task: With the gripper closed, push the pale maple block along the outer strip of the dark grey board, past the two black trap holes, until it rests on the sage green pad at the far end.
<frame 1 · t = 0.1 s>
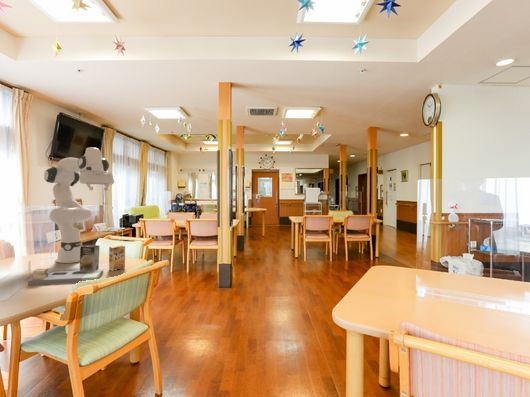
hand: (99, 190, 180), 52 cm above the table, tool tilted 20°, fingers open, 8 cm apart
candy box: (116, 269, 182), on the table
maple block: (40, 277, 153), point 2 cm above the table, touching trap board
coffee box: (89, 271, 178), on the table
trap board: (68, 279, 160), on the table
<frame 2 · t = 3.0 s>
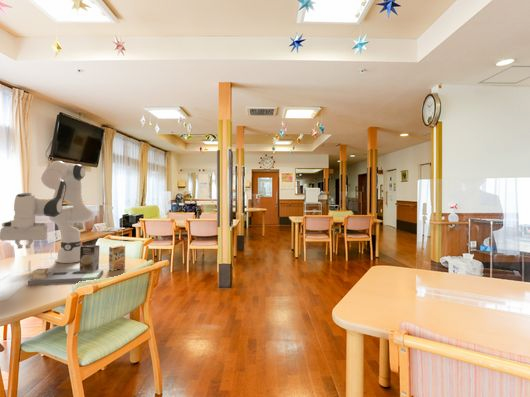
hand: (24, 248, 150), 19 cm above the table, tool pointing down, fingers closed
nothing on the table moved.
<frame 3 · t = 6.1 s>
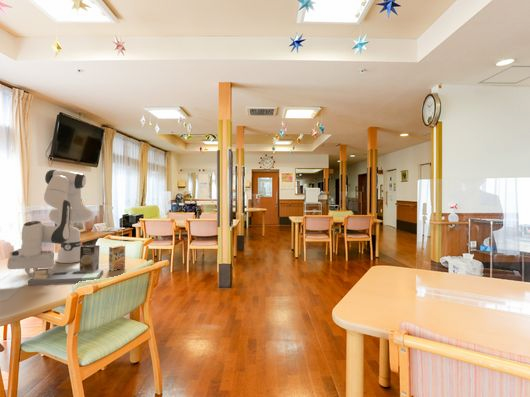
hand: (31, 276, 151), 4 cm above the table, tool pointing down, fingers closed
maple block: (42, 277, 153), point 3 cm above the table, touching gripper, trap board
everything else where it was.
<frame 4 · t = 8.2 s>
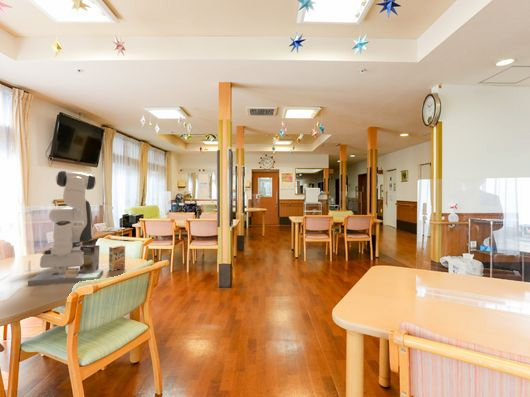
hand: (62, 274, 155), 4 cm above the table, tool pointing down, fingers closed
maple block: (71, 276, 157), point 3 cm above the table, touching gripper, trap board
everything else where it was.
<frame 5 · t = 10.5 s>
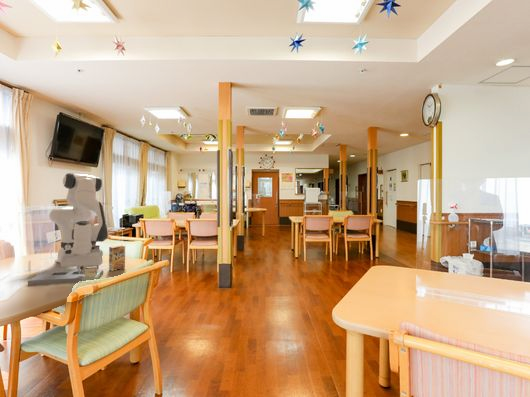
hand: (81, 273, 158), 4 cm above the table, tool pointing down, fingers closed
maple block: (91, 275, 160), point 2 cm above the table, touching gripper, trap board
everything else where it was.
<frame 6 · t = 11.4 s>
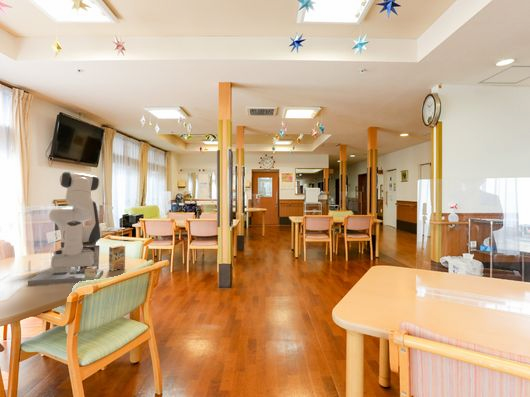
hand: (72, 274, 157), 4 cm above the table, tool pointing down, fingers closed
maple block: (91, 275, 160), point 2 cm above the table, touching trap board
everything else where it was.
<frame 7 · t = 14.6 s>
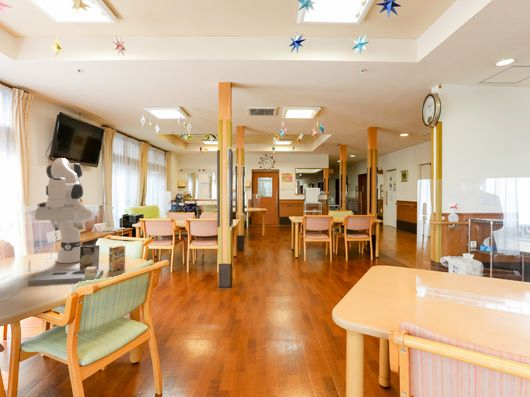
hand: (56, 227, 163), 29 cm above the table, tool pointing down, fingers closed
nothing on the table moved.
at the end: maple block inside the target area (0.6 cm from its centre), point 2.5 cm above the table; maple block tilted 0° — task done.
